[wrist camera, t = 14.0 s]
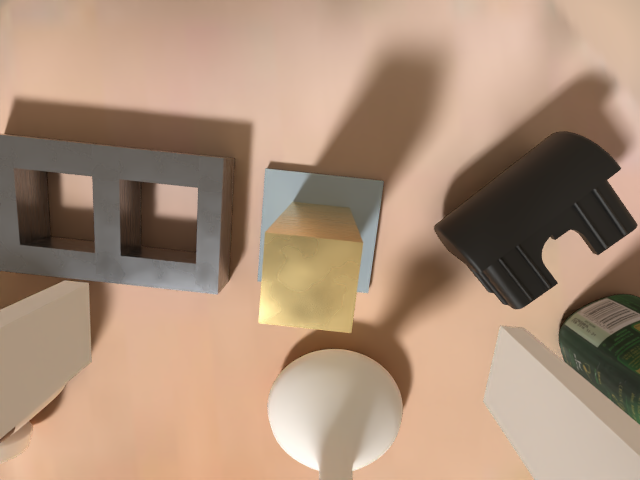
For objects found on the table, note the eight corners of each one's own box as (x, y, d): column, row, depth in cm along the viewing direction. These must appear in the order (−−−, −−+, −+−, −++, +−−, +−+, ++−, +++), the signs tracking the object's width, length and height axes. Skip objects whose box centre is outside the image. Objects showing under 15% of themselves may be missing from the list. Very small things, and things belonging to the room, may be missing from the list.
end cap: (530, 133, 27) (595, 125, 20) (581, 206, 28) (659, 220, 21) (421, 219, 29) (449, 237, 22) (474, 284, 30) (515, 320, 23)
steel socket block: (14, 258, 30) (-20, 268, 27) (3, 133, 28) (-35, 130, 25) (228, 281, 30) (217, 294, 27) (234, 158, 28) (223, 158, 25)
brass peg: (288, 256, 29) (258, 323, 17) (292, 201, 28) (264, 232, 16) (343, 262, 29) (351, 333, 17) (349, 207, 28) (363, 242, 16)
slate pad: (259, 278, 30) (257, 281, 29) (266, 168, 28) (265, 168, 27) (367, 290, 30) (368, 293, 29) (382, 180, 28) (383, 181, 27)
